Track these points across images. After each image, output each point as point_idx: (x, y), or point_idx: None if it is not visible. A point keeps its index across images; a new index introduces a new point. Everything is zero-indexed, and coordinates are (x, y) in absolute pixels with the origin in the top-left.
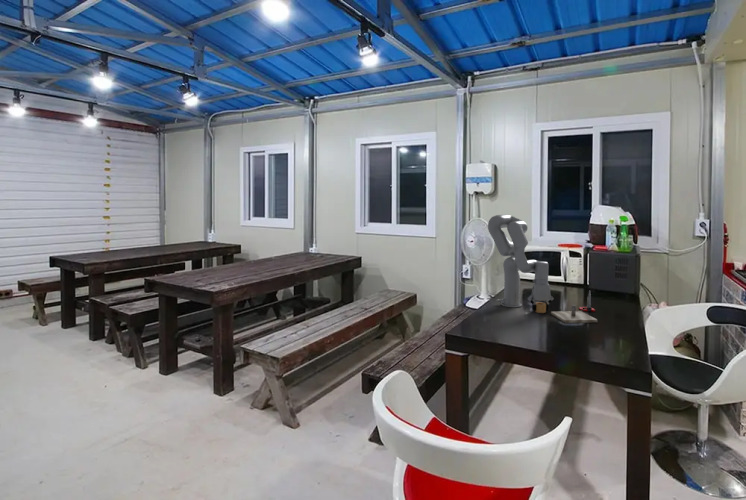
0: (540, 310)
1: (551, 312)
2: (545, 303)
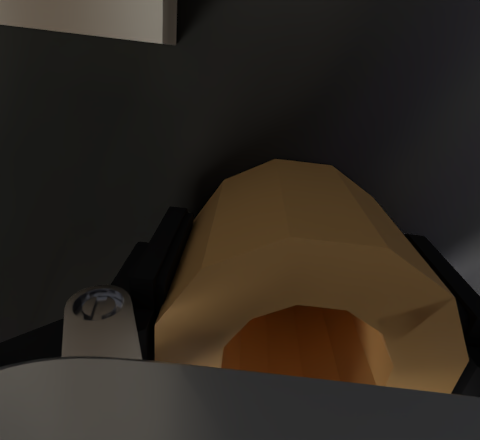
0: (350, 188)
1: (166, 13)
2: (164, 349)
